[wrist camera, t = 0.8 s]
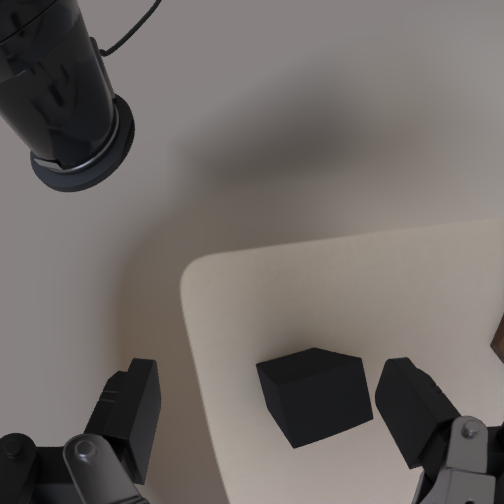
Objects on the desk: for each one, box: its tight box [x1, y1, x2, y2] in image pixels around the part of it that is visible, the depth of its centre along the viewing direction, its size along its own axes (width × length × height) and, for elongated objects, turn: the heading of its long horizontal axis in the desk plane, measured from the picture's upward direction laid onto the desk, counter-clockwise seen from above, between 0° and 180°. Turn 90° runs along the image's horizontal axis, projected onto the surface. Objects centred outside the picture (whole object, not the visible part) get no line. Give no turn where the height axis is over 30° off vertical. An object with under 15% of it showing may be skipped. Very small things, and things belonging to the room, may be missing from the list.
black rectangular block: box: [256, 348, 373, 449], centre depth 20 cm, size 4×5×9 cm
